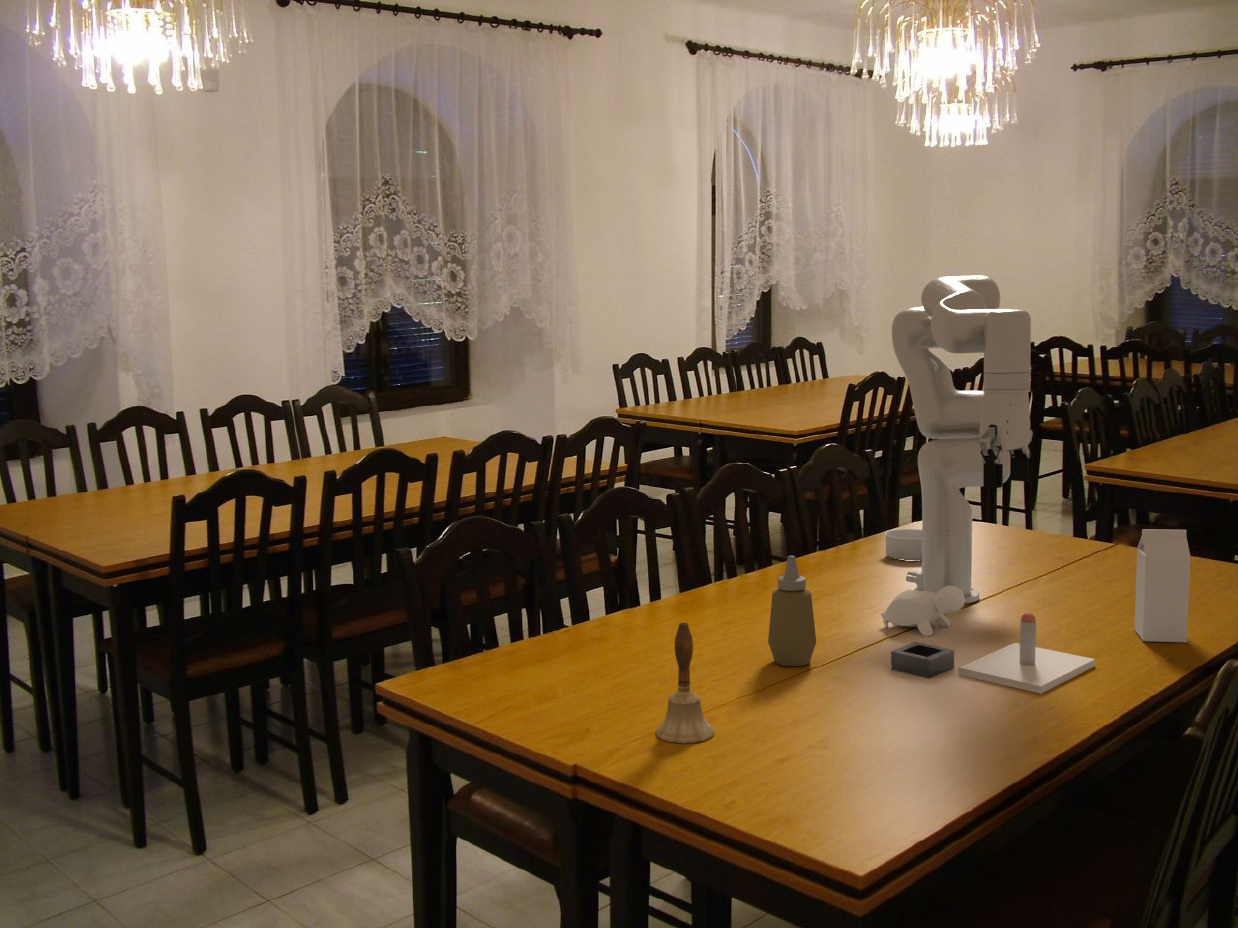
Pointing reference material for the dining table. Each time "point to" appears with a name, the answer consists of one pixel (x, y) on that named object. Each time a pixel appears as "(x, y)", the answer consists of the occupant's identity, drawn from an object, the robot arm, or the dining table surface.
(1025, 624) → the white peg stand
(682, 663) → the hand bell
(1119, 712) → the dining table surface
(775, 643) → the squeeze bottle
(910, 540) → the saucepan
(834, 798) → the dining table surface
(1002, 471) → the robot arm
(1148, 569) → the milk carton
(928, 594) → the white turtle figurine
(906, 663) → the grey square socket block
